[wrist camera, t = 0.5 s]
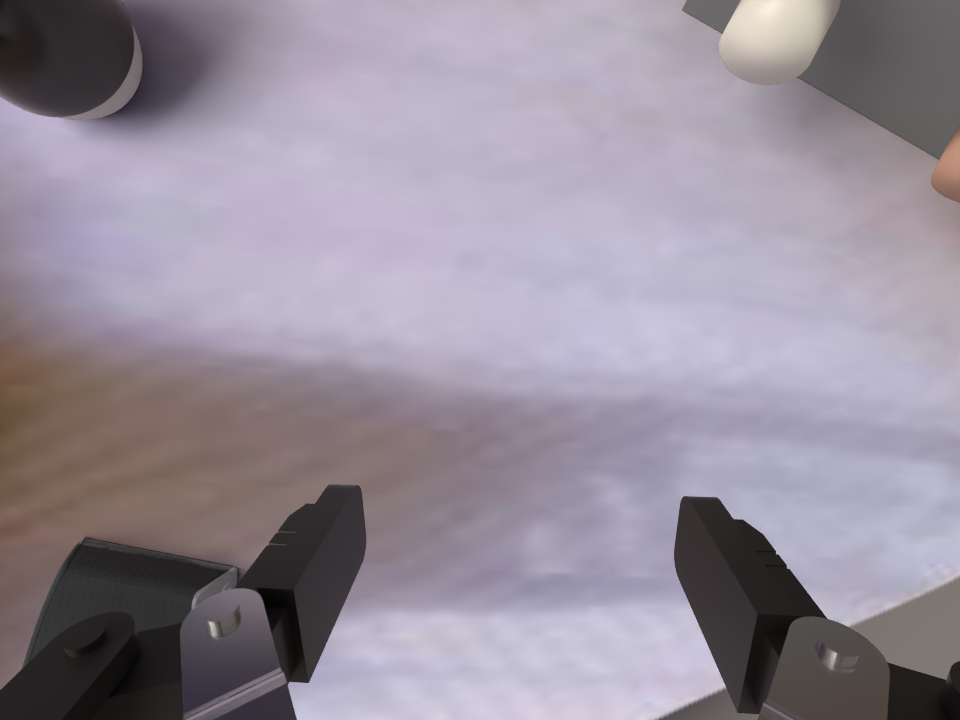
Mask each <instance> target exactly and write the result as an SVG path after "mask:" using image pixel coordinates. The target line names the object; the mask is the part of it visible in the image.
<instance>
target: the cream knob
mask: <svg viewBox="0 0 960 720" xmlns="http://www.w3.org/2000/svg"><path fill="white" fill-rule="evenodd" d="M840 2H841V0H740V2H739V4H738V6H737V8H736V10H735V12H734V14H733V15H732V17H731V19H730V21H729V23H728V25H727V27H726V29H725V30H724V32H723V34H722V36H721V39H720V42H719V54H720V57H721V60H722V62H723V64H724V65H725V66H726V68H727V69H728V70H729V71H730V72H731V73H732V74H734V75H735V76H737V77H738V78H740V79H742V80H745V81H747V82H751V83H755V84H761V85H773V84H780V83H784V82H787V81H790V80H792V79H794V78H796V77H798V76H799V75H800V74H802V73H803V72H804V71H805V70H806V69H807V68H808V66H809V65H810V63H811V61H812V59H813V58H814V56H815V54H816V52H817V50H818V48H819V46H820V44H821V43H822V41H823V39H824V37H825V35H826V33H827V31H828V29H829V28H830V26H831V24H832V22H833V20H834V18H835V16H836V14H837V12H838V10H839V7H840Z"/></svg>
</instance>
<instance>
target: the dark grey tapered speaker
mask: <svg viewBox="0 0 960 720" xmlns="http://www.w3.org/2000/svg"><path fill="white" fill-rule="evenodd" d="M142 67H143V61H142V52H141V47H140V43H139V40H138V37H137V34H136V32H135V29H134V27H133V25H132V23H131V19H130V16H129V14H128V12H127V9H126V7H125V5H124V4H123V2H122V0H0V97H1V98H2V99H4V100H6V101H8V102H9V103H11V104H13V105H15V106H17V107H19V108H21V109H23V110H25V111H28V112H31V113H34V114H37V115H42V116H48V117H59V118H64V119H72V120H90V119H97V118H101V117H105V116H107V115H110V114H112V113H114V112H116V111H117V110H119V109H121V108H122V107H123V106H124V105H125V104H127V103H128V102H129V100H130V99H131V98H132V97H133V95H134V94H135V92H136V90H137V88H138V86H139V83H140V80H141V75H142Z"/></svg>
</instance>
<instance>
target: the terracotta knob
mask: <svg viewBox="0 0 960 720" xmlns="http://www.w3.org/2000/svg"><path fill="white" fill-rule="evenodd" d="M931 184H932V186H933V188H934V189H935V190H936V191H937V192H938V193H940V194H941V195H943V196H945V197H946V198H949V199H951V200H954V201H957V202H960V124H959V126H958V127H957V128H956V130H955V131H954V133H953V135H952V137H951V139H950V141H949V143H948V145H947V147H946V148H945V150H944V152H943V154H942V156H941V158H940V160H939V162H938V164H937V165H936V167H935V169H934V171H933V173H932V175H931Z"/></svg>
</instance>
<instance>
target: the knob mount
mask: <svg viewBox="0 0 960 720" xmlns="http://www.w3.org/2000/svg"><path fill="white" fill-rule="evenodd" d="M739 2H740V0H687V2H686V4H685V5H684V7H683V9H682V10H683V11H685V12H686V13H688V14H690V15H691V16H693V17H695V18H697V19H698V20H700V21H702V22H703V23H705V24H707V25H709V26H710V27H712V28H714V29H715V30H717V31H719V32H721V33H722V34H723V32H724V30H725V29H726V27H727V25H728V23H729V21H730V19H731V17H732V15H733V14H734V12H735V10H736V8H737V6H738V4H739ZM798 78H800V79H802V80H803V81H805V82H807V83H808V84H810V85H812V86H814V87H815V88H817V89H819V90H820V91H822V92H824V93H826V94H827V95H829V96H831V97H833V98H834V99H836V100H838V101H839V102H841V103H843V104H845V105H846V106H848V107H850V108H851V109H853V110H855V111H857V112H858V113H860V114H862V115H863V116H865V117H867V118H869V119H870V120H872V121H874V122H876V123H877V124H879V125H881V126H882V127H884V128H886V129H888V130H889V131H891V132H893V133H894V134H896V135H898V136H900V137H901V138H903V139H905V140H907V141H908V142H910V143H912V144H913V145H915V146H917V147H919V148H920V149H922V150H924V151H925V152H927V153H929V154H931V155H932V156H934V157H936V158H937V159H939V160H940V158H941V156H942V154H943V152H944V150H945V148H946V147H947V145H948V143H949V141H950V139H951V137H952V135H953V133H954V131H955V130H956V128H957V127H958V126H959V124H960V0H841V2H840V7H839V10H838V12H837V14H836V16H835V18H834V20H833V22H832V24H831V26H830V28H829V29H828V31H827V33H826V35H825V37H824V39H823V41H822V43H821V44H820V46H819V48H818V50H817V52H816V54H815V56H814V58H813V59H812V61H811V63H810V65H809V66H808V68H807V69H806V70H805V71H804V72H803V73H802V74H800V75H799V76H798Z"/></svg>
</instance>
